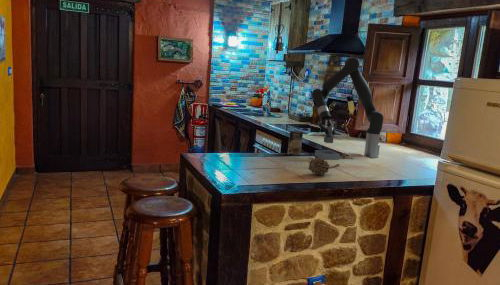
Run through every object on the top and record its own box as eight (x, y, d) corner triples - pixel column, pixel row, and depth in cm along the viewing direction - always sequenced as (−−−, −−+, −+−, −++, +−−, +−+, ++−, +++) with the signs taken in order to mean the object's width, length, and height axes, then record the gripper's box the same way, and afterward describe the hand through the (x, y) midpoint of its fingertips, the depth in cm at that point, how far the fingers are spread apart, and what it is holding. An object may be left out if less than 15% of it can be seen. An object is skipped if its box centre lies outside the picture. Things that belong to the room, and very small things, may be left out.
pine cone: (314, 178, 229) (316, 160, 227) (303, 173, 237) (305, 156, 235) (343, 174, 241) (345, 158, 239) (331, 171, 249) (333, 154, 247)
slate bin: (329, 157, 289) (330, 150, 288) (339, 161, 277) (339, 154, 276) (314, 157, 285) (315, 150, 285) (323, 161, 273) (323, 154, 273)
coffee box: (287, 154, 288) (289, 131, 285) (287, 152, 295) (289, 130, 292) (300, 155, 287) (302, 132, 285) (300, 154, 294) (302, 131, 291)
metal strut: (329, 141, 282) (331, 127, 280) (332, 143, 278) (334, 128, 276) (323, 141, 281) (325, 127, 279) (326, 143, 276) (328, 128, 275)
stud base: (346, 157, 292) (347, 151, 291) (354, 161, 282) (355, 154, 281) (332, 157, 289) (333, 151, 288) (340, 161, 278) (341, 154, 278)
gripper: (317, 109, 280) (323, 130, 271) (335, 110, 285) (342, 131, 276) (312, 116, 286) (318, 137, 277) (331, 117, 291) (337, 137, 281)
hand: (330, 134), depth 276 cm, fingers closed on metal strut, 4 cm apart
